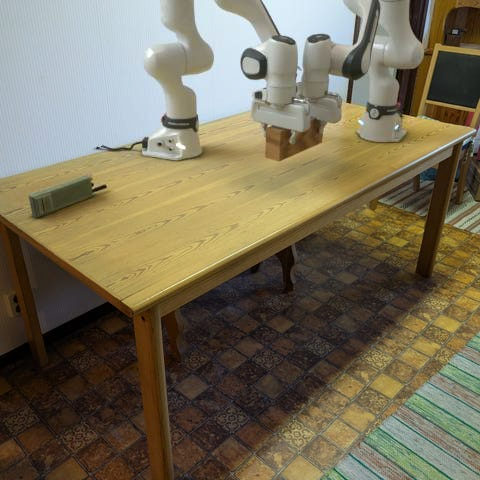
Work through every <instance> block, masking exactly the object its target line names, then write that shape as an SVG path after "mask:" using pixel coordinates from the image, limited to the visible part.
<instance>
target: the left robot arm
mask: <svg viewBox="0 0 480 480" xmlns="http://www.w3.org/2000/svg"><path fill="white" fill-rule="evenodd" d="M213 1H214V3H215V4H216V5H217V6H218V7H219V8H220V9H221V10H222V11H225V12H227V13H231V14H234V15H237V16H239V17H241V18H243V19H245V20H247V21H248V22H249V23H250V24H251V26H252V27H253V30H254V32H255V33H256V34H257V37H258V39H259V40H260V42H261V43H259V44H257V45H253V46H249V47H247V48H245V49H244V51H243V52H242V54H241V55H240V60H239V62H240V63H239V65H240V70H241V73H242V74H243V75H244V76H245V78H247V80H250V81H260V80H265V82H266V85H265V86H266V87H263V88H260V89H257V90H253V91H252V93H251V96H252V100H251V104H250V118H251V119H252V121H253V122H257V123H260V128H261V130H262V132H263V138H266V128H267V127H268V126H277V127H281V128H285V129H290V130H291V133H292V136H291V137H289V138H288V143H289V144H294V143H295V138H296V136H297V135H298V133H299V132H305V131H307V130H308V129H309V128H310V104H309V103H308V102H307V101H306V100H304V99H299V98H296V85H297V84H296V83H297V77H296V73H297V74H298V66H299V51H298V44H297V41H296V40H295V39H294V38H292V37H290V36H289V35H288V36H287V35H282V34H281V33H280V31H279V29H278V27H277V25H276V24H275V21H274V20H273V18H272V16H271V14H270V12H269V10H268V9H267V6H265V3H264V2H263V0H213ZM159 7H160V8H159V9H160V20H161V21H160V22H161V23H162V25H163V27H165V29H167V30H168V31H170V32H172V33H174V34H175V37H176V42H170V43H169V42H168V43H158V44H154V45H152V46H150V47H147V48H146V49H145V50H144V53H143V57H142V65H143V68H144V70H145V72H146V73H147V75H148V76H150V77H151V78H153V79H154V80H155V81H156V82H157V83H158V84H159V86H160V87H161V89H162V92H163V96H164V102H165V113H163V114H162V116H161V118H160V123H161V125H159V127H157V128H156V129H155V130H154V131H152V132H151V133H150V135H149V136H144V137H143V139H142V140H141V141H136V142H133V143H132V144H131V145H130V147H126V146H121V147H117V148H116V147H115V148H114V147H109V146H107V145H104V144H101V145H102V146H101V147H98V146H99V145H97V146H96V147H95V150H99V149H100V148H103V149H106V150H108V151H114V152H116V151H122V150H126V151H130V150H133V148H134V147H135V146H137V145H141V148H142V150H141V155H142V156H145V157H152V158H157V159H164V160H170V161H176V162H178V161H182V160H185V159H190V158H191V159H192V158H196V157H198V156H200V155H202V153H203V149H202V148H203V147H202V145H201V142H200V134H199V128H200V121H199V114H198V103H197V100H198V99H197V94H196V92H195V91H194V89H192V88H191V87H189V86H187V85H185V84H184V83H183V79H182V78H183V77H185V76H192V75H193V76H194V75H199V74H203V73H205V72H208V71H210V70H211V69H212V67H213V65H214V61H215V55H214V51H213V48H212V46H210V44H209V43H208V42H206V40H204V39H203V37H202V36H201V34H200V32H199V30H198V27H197V24H196V23H197V22H196V15H195V13H196V12H195V0H159ZM306 103H307V104H306Z"/></svg>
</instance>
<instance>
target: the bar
mask: <svg viewBox="0 0 480 480" xmlns="http://www.w3.org/2000/svg"><path fill="white" fill-rule="evenodd" d="M321 125H322V124H320V120H317V118H314V117H310V128H309V129H308V130H307V131H305V132H299V133H298V135H297V136H296V138H295V143H294V144H289V143H288V138H289V137H291V136H292V133H291V130H290V129H285V128H281V127H277V126H273V125H269V126H267V128H266V137H265V145H264V146H265V147H264V148H265V150H264V158H265V159H269V160H273V161H275V162H282V161H284V160H286V159H289V158H292V157H293V156H295V155H298V154H300V153H303V152H304V151H307V150H308V149H311V148H313V147H316V146H318V145H320V144H323V138H324V132H323V133H322V134H319V133H317V128H319V127H320V126H321Z"/></svg>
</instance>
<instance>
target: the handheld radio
mask: <svg viewBox="0 0 480 480" xmlns="http://www.w3.org/2000/svg"><path fill="white" fill-rule="evenodd" d="M92 176H93V174H91V173H88V174H85V175H83V176H79V177H76V178H74V179H71V180H68V181H65V182H62V183H59V184H57V185H54V186H50V187H47V188H44V189H42V190H39V191H37V192H33V193H30V194H28V200H29V206H30V210H31V216H32V217H34V218H35V219H36V218H39V217H42V216H45V215H47V214H50V213H53V212H56V211H58V210H60V209H63V208H66V207H68V206H72V205H73V204H76V203H80V202H82V201H84V200H87V199H90V198H93V196H95V195H96V194H95V193H97V192H100V191H102V190H106V189H107V188H108V186H107V184H102V185H99V186H96V187H94V186H95V183H94V182H92V181H93V180H94V178H93V177H92ZM93 187H94V188H93Z"/></svg>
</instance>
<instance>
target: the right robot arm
mask: <svg viewBox="0 0 480 480" xmlns="http://www.w3.org/2000/svg"><path fill="white" fill-rule="evenodd" d="M342 2H343V4H344V5H345V7H346V9H348V10H349V12H351V13H352V14H354V15H356V16H357V17H359V18H360V19H361V26H360V30H359V34H358V37H357V42H356V43H354V44H352V45H349V44H341V43H336V42H334V41H332V37H331V36H330V35H329V34H326V33H314V34H311V35H309V36H307V37H306V39H305V41H304V47H303V53H302V61H301V66H302V75H301V79H300V81H298V82H296V84H297V85H296V98H299V99H304V100H306V101H307V102H308V103H309V104H310V117H314V118H317V120H320V124H322V125H321V126H320V127H319V128H317V133H319V134H322V133H323V134H324V129H325V127H326V126H327V124H333V125H334V124H337V123H339V122H340V121H341V120H342V117H343V116H342V113H343V112H342V111H343V109H342V105H343V98H342V96H341V95H340V94H339V93H337V92H331V91H329V86H330V76H335V77H341V78H344V79H348V80H352V81H358V80H361V78H363V77H364V76H366V75H367V74H368V78H369V92H368V93H369V94H368V100H367V102H366V106H365V112H364V113H362V117H361V120H360V119H358V123H359V124H360V126H359V129H357V130H356V134H358V135H359V137H360V138H361V139H363V140H365V141H370V142H373V143H374V142H375V143H399V142H400V141H401V140H402V139H403V138H404V137H405V136H406V135H407V133H408V131H407V130H406V129H404V128H403V121H404V120H403V116H404V115H403V114H402V112H401V111H405V110H406V109H405V107H404V106H401V102H398V97H399V92H400V84H399V81H398V80H397V79H396V78H395V77H394V76H393V75H392V74H391V71H390V69H398V70H413V69H416V68H417V67H418V66H420V64H421V63H422V61H423V60H424V55H425V48H424V44H423V43H422V42H421V41H420V40H419V39H418V38H417V37H416V35H415V34H414V32H413V30H412V27H411V23H410V0H342ZM378 25H379V26H381V28H382V29H384V30H385V31H386V33H387V35H379V34H377V31H378ZM306 104H307V103H306Z"/></svg>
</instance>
